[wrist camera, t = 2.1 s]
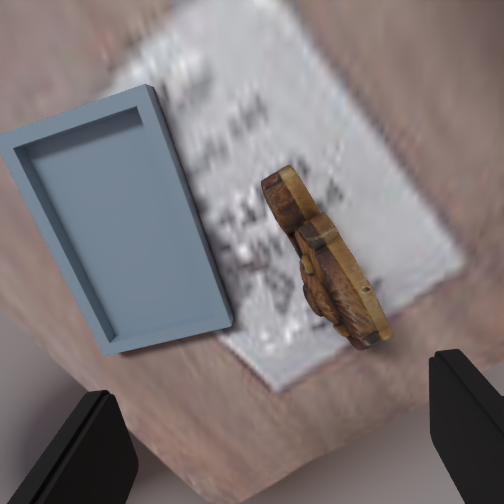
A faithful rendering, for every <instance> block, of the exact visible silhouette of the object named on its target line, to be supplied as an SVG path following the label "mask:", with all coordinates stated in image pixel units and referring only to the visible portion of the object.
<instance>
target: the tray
mask: <svg viewBox="0 0 504 504" xmlns="http://www.w3.org/2000/svg"><path fill="white" fill-rule="evenodd" d="M0 154H1V156H2V158H3V160H4V162H5V164H6V166H7V168H8V170H9V171H10V173H11V175H12V177H13V179H14V181H15V183H16V185H17V187H18V189H19V191H20V193H21V195H22V197H23V199H24V201H25V203H26V205H27V207H28V209H29V211H30V213H31V215H32V217H33V219H34V221H35V223H36V225H37V227H38V228H39V230H40V232H41V234H42V236H43V238H44V240H45V242H46V244H47V246H48V248H49V250H50V252H51V254H52V256H53V258H54V260H55V262H56V264H57V266H58V268H59V270H60V272H61V274H62V276H63V278H64V280H65V282H66V284H67V285H68V287H69V289H70V291H71V293H72V295H73V297H74V299H75V301H76V303H77V305H78V307H79V309H80V311H81V313H82V315H83V317H84V319H85V321H86V323H87V325H88V327H89V329H90V331H91V333H92V335H93V337H94V339H95V341H96V342H97V344H98V346H99V348H100V350H101V352H102V354H103V356H107V355H112V354H116V353H120V352H124V351H129V350H133V349H137V348H141V347H146V346H150V345H154V344H158V343H163V342H167V341H171V340H175V339H180V338H184V337H188V336H192V335H197V334H201V333H205V332H209V331H214V330H218V329H222V328H226V327H231V326H232V322H233V317H234V314H233V312H232V309H231V306H230V303H229V300H228V297H227V295H226V292H225V289H224V286H223V283H222V280H221V277H220V275H219V272H218V269H217V266H216V263H215V260H214V258H213V255H212V252H211V249H210V246H209V243H208V240H207V238H206V235H205V232H204V229H203V226H202V223H201V221H200V218H199V215H198V212H197V209H196V206H195V204H194V201H193V198H192V195H191V192H190V189H189V186H188V184H187V181H186V178H185V175H184V172H183V169H182V167H181V164H180V161H179V158H178V155H177V152H176V149H175V147H174V144H173V141H172V138H171V135H170V132H169V130H168V127H167V124H166V121H165V118H164V115H163V112H162V110H161V107H160V104H159V101H158V98H157V95H156V93H155V90H154V87H152V86H149V85H146V84H144V85H141V86H138V87H135V88H132V89H129V90H126V91H123V92H121V93H118V94H115V95H112V96H109V97H106V98H103V99H101V100H98V101H95V102H92V103H89V104H86V105H83V106H80V107H78V108H75V109H72V110H69V111H66V112H63V113H60V114H58V115H55V116H52V117H49V118H46V119H43V120H40V121H38V122H35V123H32V124H29V125H26V126H23V127H20V128H17V129H15V130H12V131H9V132H6V133H3V134H0Z"/></svg>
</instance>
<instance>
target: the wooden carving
mask: <svg viewBox="0 0 504 504" xmlns="http://www.w3.org/2000/svg"><path fill="white" fill-rule="evenodd" d="M261 187H262V191H263V194H264V197H265V199H266V201H267V204H268V205H269V207H270V209H271V211H272V213H273V215H274V217H275V219H276V221H277V222H278V223H279V225H280V227H281V228H282V230H283V231H284V232H285V233H286V234H287V236H288V238H289V239H290V241H291V243H292V244H293V246H294V248H295V250H296V252H297V254H298V255H299V257H300V259H301V260H300V271H301V277H302V280H303V282H304V285H303V292H304V296H305V298H306V300H307V302H308V304H309V305H310V307H311V308H312V310H313V311H314V312H315V313H316V314H317V315H318V316H320V317H323V316H324V317H325V318H327V319H328V320H329V321H331V322H332V323H333V324H334V326H333V327H334V328H335V329H336V331H337V332H338V333H339V334H341V335H342V336H344V337H346V338H347V339H348V340H349V341H350V343H351V344H352V345H353V346H354V347H355V348H356V349H357V350H364V349H369V348H371V347H373V346H374V345H375V344H377V343H378V342H380V341H382V340H387V339H389V338H391V337H393V332H392V330H391V328H390V327H389V325H388V322H387V320H386V317H385V314H384V312H383V310H382V308H381V306H380V304H379V301H378V299H377V297H376V295H375V293H374V291H373V289H372V287H371V285H370V284H369V282H368V280H367V279H366V277H365V275H364V273H363V271H362V270H361V268H360V266H359V265H358V263H357V262H356V260H355V258H354V257H353V255H352V254H351V252H350V250H349V249H348V247H347V246H346V244H345V243H344V241H343V240H342V238H341V236H340V234H339V232H338V230H337V228H336V227H335V225H334V224H333V222H332V221H331V220H330V219H329V217H328V216H327V215H326V214H325V213H324V212H322V213H321V214H320V212H319V210H318V208H317V206H316V204H315V203H314V201H313V199H312V197H311V195H310V194H309V192H308V190H307V188H306V187H305V185H304V184H303V182H302V180H301V179H300V177H299V176H298V174H297V173H296V171H295V170H294V169H293V167H292V166H291V165H287V166H285V167H283V168H282V169H280V170H278V171H277V172H275V173H273V174H271V175H270V176H269V177H267V178H265V179H264V180H262V181H261Z"/></svg>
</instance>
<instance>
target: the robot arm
mask: <svg viewBox="0 0 504 504" xmlns="http://www.w3.org/2000/svg"><path fill="white" fill-rule="evenodd" d="M429 401H430V434H431V438H432V441H433V444H434V446H435V448H436V450H437V452H438V453H439V456H440V458H441V459H442V461H443V463H444V465H445V467H446V469H447V471H448V472H449V474H450V476H451V478H452V480H453V482H454V484H455V486H456V487H457V489H458V491H459V493H460V495H461V497H462V498H463V500H464V502H465V504H504V396H501V395H500V394H499V393H498V392H497V391H496V390H495V388H494V387H493V386H492V385H491V384H490V383H489V382H488V380H487V379H486V378H485V377H484V376H483V375H482V374H481V373H480V372H479V370H478V369H477V368H476V367H475V366H474V365H473V364H472V363H471V361H470V360H469V359H468V358H467V357H466V356H465V355H464V354H463V353H462V352H461V351H460V350H459V349H451V350H443V351H437V352H435V357H431V358H429ZM137 472H138V458H137V455H136V452H135V450H134V447H133V444H132V441H131V439H130V436H129V433H128V430H127V428H126V425H125V422H124V419H123V417H122V414H121V411H120V408H119V406H118V403H117V400H116V398H115V396H114V395H113V394H110V392H109V391H108V390H101V391H92V392H87V393H86V394H85V395H84V396H83V398H82V399H81V400H80V402H79V403H78V405H77V406H76V408H75V409H74V410H73V412H72V413H71V414H70V416H69V417H68V419H67V420H66V421H65V423H64V424H63V426H62V427H61V428H60V430H59V431H58V433H57V434H56V436H55V437H54V438H53V440H52V441H51V443H50V444H49V446H48V447H47V448H46V450H45V451H44V452H43V454H42V455H41V457H40V458H39V460H38V461H37V462H36V464H35V465H34V467H33V468H32V469H31V471H30V472H29V474H28V475H27V476H26V478H25V479H24V481H23V482H22V483H21V485H20V486H19V488H18V489H17V490H16V492H15V493H14V495H13V496H12V497H11V499H10V500H9V502H8V503H7V504H125V503H126V500H127V498H128V495H129V493H130V490H131V488H132V485H133V482H134V480H135V477H136V475H137Z"/></svg>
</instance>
